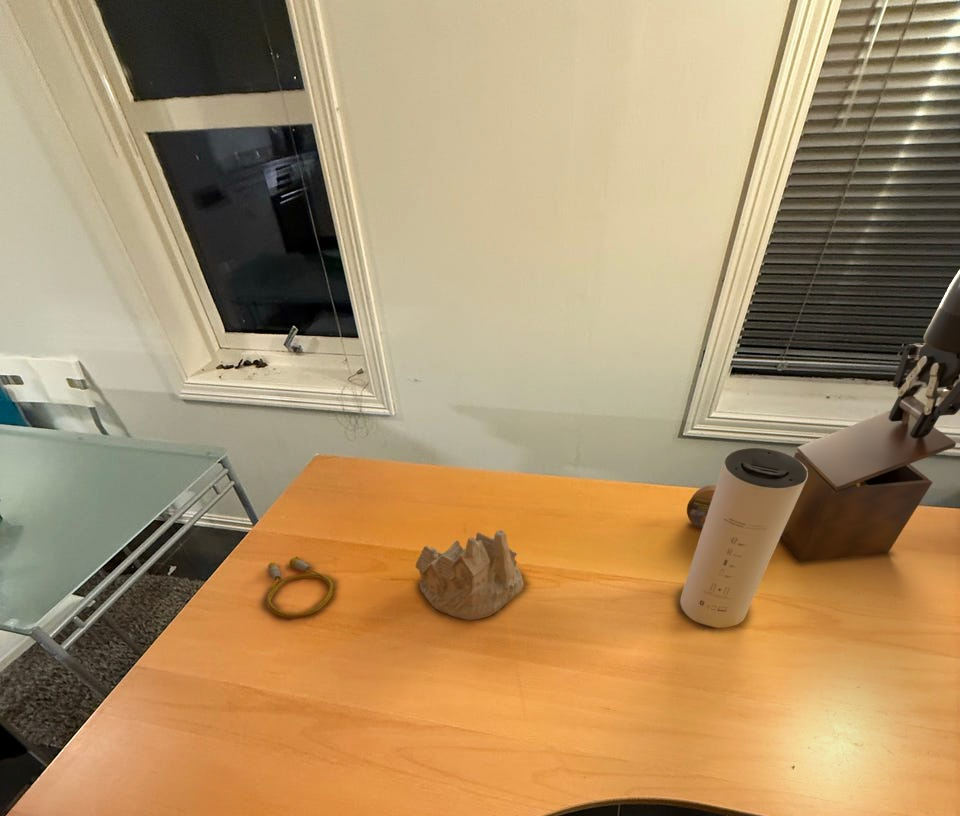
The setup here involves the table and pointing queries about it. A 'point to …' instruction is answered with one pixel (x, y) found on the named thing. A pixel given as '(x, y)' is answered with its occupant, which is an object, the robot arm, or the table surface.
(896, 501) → the chest
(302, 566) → the extension cord
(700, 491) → the tin
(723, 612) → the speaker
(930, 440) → the lid
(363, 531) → the table surface
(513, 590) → the ceramic cottage
